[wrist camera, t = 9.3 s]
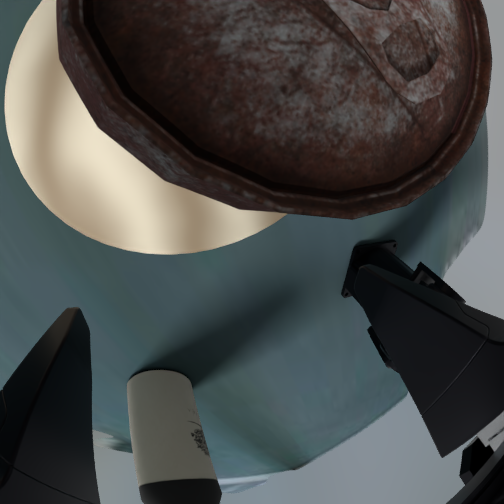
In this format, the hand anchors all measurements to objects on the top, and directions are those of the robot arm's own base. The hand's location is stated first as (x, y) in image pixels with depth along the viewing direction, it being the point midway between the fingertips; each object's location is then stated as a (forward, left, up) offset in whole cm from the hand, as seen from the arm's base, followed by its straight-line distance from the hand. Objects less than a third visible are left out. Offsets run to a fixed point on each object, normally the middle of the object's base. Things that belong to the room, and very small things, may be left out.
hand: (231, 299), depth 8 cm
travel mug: (+6, +24, -13) cm, 28 cm away
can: (0, -7, -10) cm, 12 cm away
